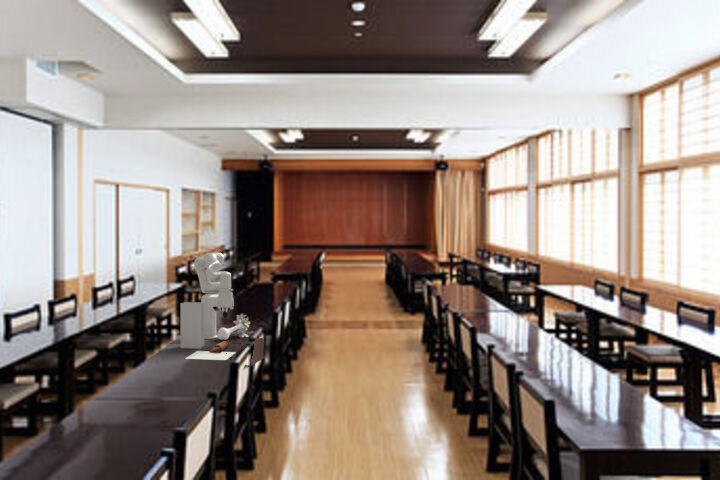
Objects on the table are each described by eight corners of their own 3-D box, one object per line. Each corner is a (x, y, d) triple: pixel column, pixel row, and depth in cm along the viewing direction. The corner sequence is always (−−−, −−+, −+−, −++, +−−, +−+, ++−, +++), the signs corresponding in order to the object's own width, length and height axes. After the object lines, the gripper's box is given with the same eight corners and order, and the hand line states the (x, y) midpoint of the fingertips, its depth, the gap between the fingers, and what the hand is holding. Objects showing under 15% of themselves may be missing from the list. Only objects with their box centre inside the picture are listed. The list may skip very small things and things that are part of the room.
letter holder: (263, 358, 347) (263, 336, 346) (251, 366, 327) (251, 343, 327) (248, 357, 349) (248, 335, 348) (235, 365, 329) (235, 342, 329)
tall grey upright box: (204, 346, 375) (204, 302, 374) (201, 348, 369) (201, 303, 368) (183, 346, 376) (183, 302, 375) (180, 348, 371) (180, 303, 370)
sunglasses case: (215, 345, 376) (220, 337, 375) (224, 351, 376) (229, 342, 376) (208, 352, 358) (214, 343, 358) (218, 357, 358) (223, 349, 358)
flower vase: (226, 350, 393) (254, 336, 410) (223, 327, 386) (251, 314, 404) (215, 344, 401) (243, 331, 418) (212, 322, 394) (240, 309, 412)
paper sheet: (197, 351, 363) (197, 350, 363) (236, 352, 361) (236, 352, 361) (184, 358, 343) (184, 358, 343) (225, 360, 341) (225, 360, 341)
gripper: (237, 290, 380) (238, 316, 380) (216, 289, 381) (216, 316, 382) (234, 291, 373) (234, 318, 373) (212, 291, 374) (212, 318, 374)
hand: (225, 317), depth 377 cm, fingers closed
